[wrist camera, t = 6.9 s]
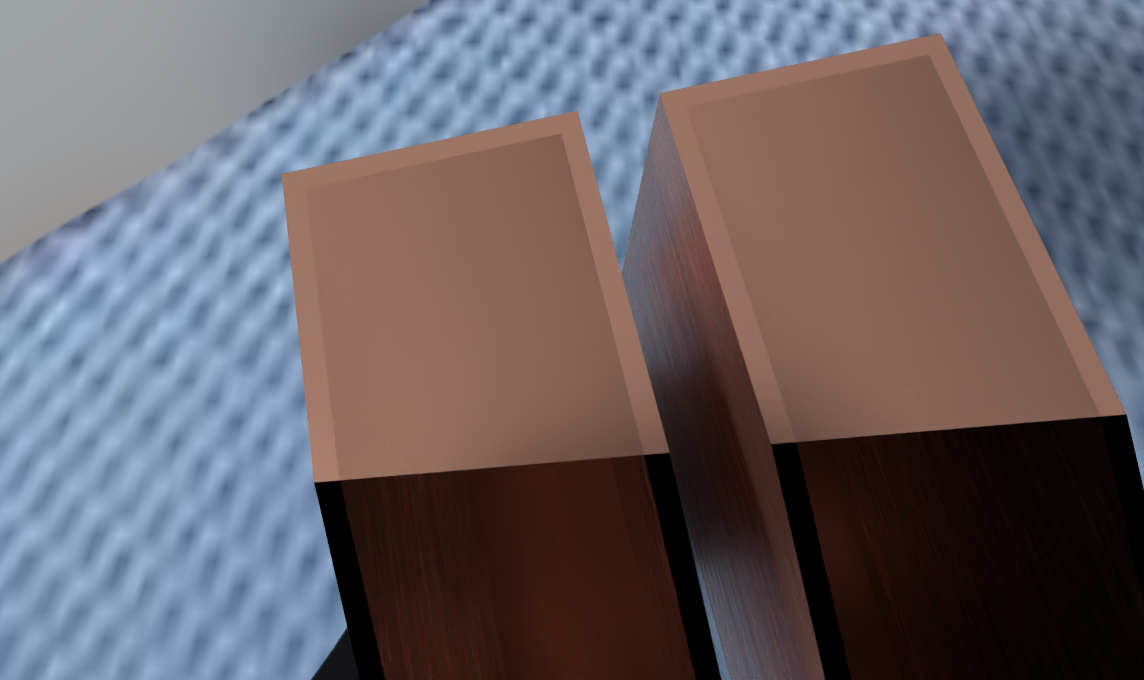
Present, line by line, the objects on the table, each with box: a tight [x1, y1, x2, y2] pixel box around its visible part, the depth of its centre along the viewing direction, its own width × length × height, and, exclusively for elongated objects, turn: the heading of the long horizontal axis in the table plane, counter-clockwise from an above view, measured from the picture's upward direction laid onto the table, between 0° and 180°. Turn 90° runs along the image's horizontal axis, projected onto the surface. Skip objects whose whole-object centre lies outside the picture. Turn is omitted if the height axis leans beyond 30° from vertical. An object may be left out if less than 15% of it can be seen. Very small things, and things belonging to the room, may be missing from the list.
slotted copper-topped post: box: [282, 34, 1144, 680], centre depth 8 cm, size 4×3×13 cm
